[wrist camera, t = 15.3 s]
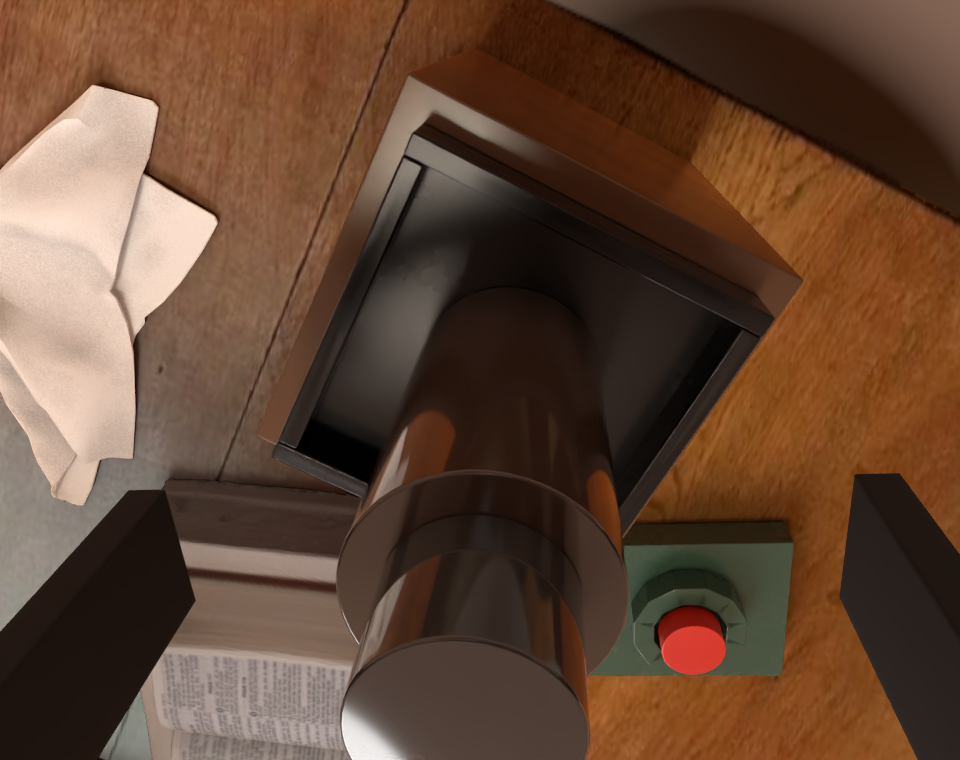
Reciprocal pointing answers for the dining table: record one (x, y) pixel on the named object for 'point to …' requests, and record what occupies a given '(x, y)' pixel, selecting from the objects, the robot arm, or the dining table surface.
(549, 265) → the brown pedestal
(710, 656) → the button
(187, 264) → the cloth
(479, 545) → the metal bottle
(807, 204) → the dining table surface
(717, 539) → the base
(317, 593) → the bible
